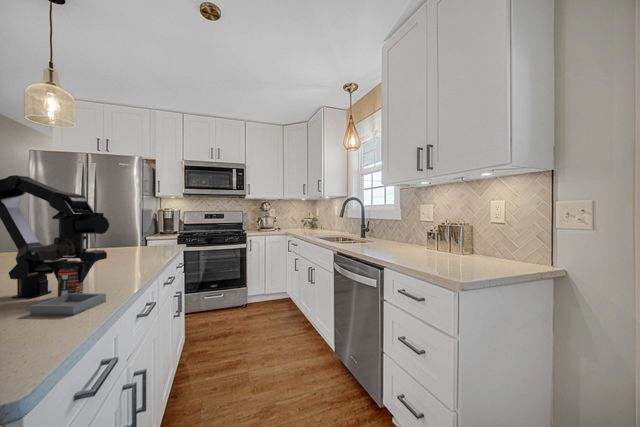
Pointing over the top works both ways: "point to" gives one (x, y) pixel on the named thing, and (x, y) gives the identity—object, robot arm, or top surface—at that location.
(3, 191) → the robot arm
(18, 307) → the top surface
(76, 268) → the supplement bottle
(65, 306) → the tray
